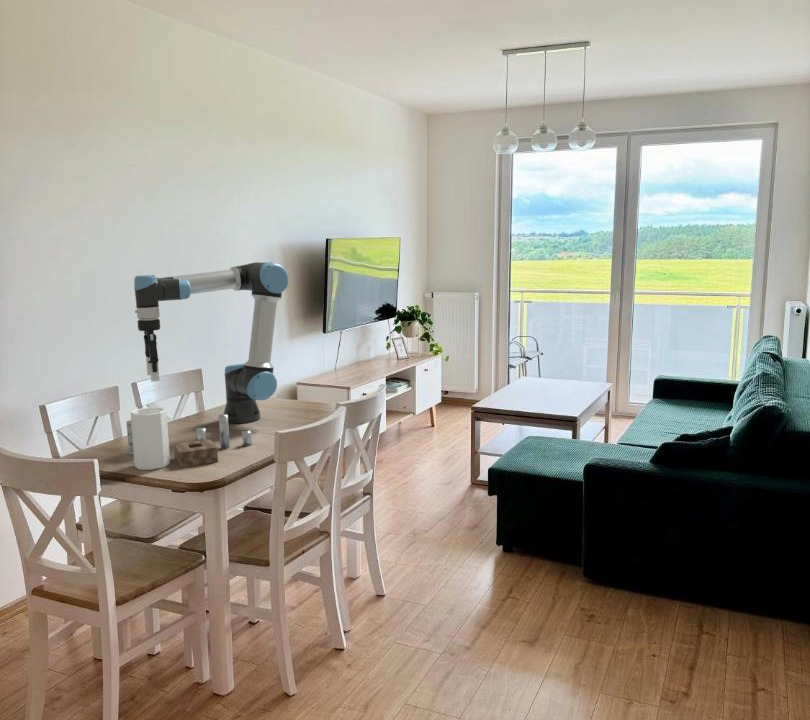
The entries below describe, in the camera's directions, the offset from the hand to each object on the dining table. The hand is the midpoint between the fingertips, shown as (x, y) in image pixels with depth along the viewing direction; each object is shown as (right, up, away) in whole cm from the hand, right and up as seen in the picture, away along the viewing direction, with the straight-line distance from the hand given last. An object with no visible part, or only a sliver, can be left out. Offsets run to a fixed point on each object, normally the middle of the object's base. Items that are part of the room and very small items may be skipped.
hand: (153, 377), depth 269 cm
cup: (+7, -29, -21) cm, 36 cm away
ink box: (-1, -26, -6) cm, 27 cm away
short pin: (+33, -24, +2) cm, 41 cm away
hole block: (+20, -27, -16) cm, 37 cm away
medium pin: (+19, -26, -5) cm, 32 cm away
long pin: (+26, -25, -2) cm, 36 cm away
